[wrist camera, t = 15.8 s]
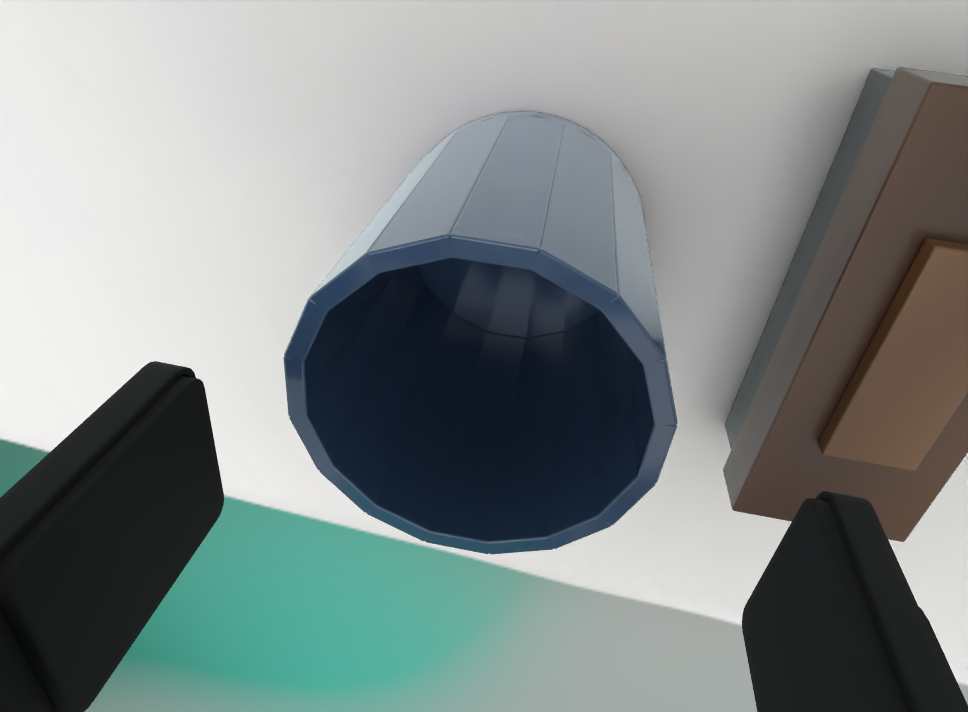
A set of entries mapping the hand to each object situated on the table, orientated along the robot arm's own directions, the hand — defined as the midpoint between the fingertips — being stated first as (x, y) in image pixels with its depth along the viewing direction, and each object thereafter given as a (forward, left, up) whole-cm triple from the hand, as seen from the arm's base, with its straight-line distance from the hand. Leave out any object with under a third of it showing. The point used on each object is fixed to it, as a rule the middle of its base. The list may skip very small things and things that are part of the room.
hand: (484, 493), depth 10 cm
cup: (+1, 0, -11) cm, 11 cm away
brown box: (-10, 0, -11) cm, 14 cm away
